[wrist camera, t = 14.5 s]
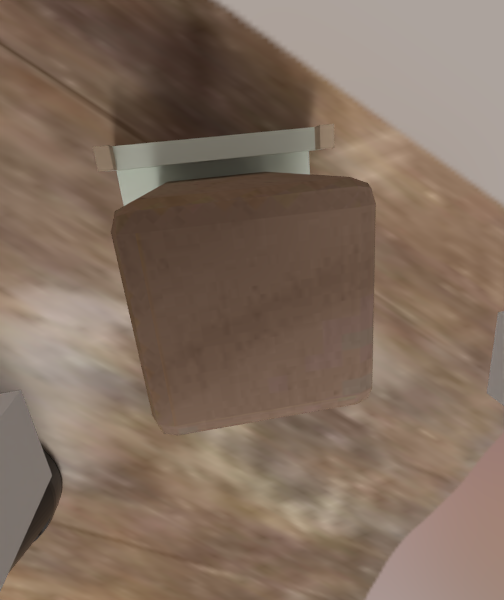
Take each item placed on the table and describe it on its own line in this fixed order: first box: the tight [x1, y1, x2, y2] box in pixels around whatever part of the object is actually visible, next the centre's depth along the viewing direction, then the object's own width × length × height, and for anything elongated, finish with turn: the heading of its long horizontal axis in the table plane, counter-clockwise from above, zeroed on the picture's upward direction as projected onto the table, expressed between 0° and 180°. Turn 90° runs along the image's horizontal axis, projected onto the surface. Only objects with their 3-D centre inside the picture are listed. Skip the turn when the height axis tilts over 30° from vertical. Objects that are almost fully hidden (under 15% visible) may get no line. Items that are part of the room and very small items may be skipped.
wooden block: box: [111, 172, 376, 435], centre depth 24 cm, size 10×10×20 cm
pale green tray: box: [92, 124, 334, 206], centre depth 31 cm, size 16×16×7 cm
